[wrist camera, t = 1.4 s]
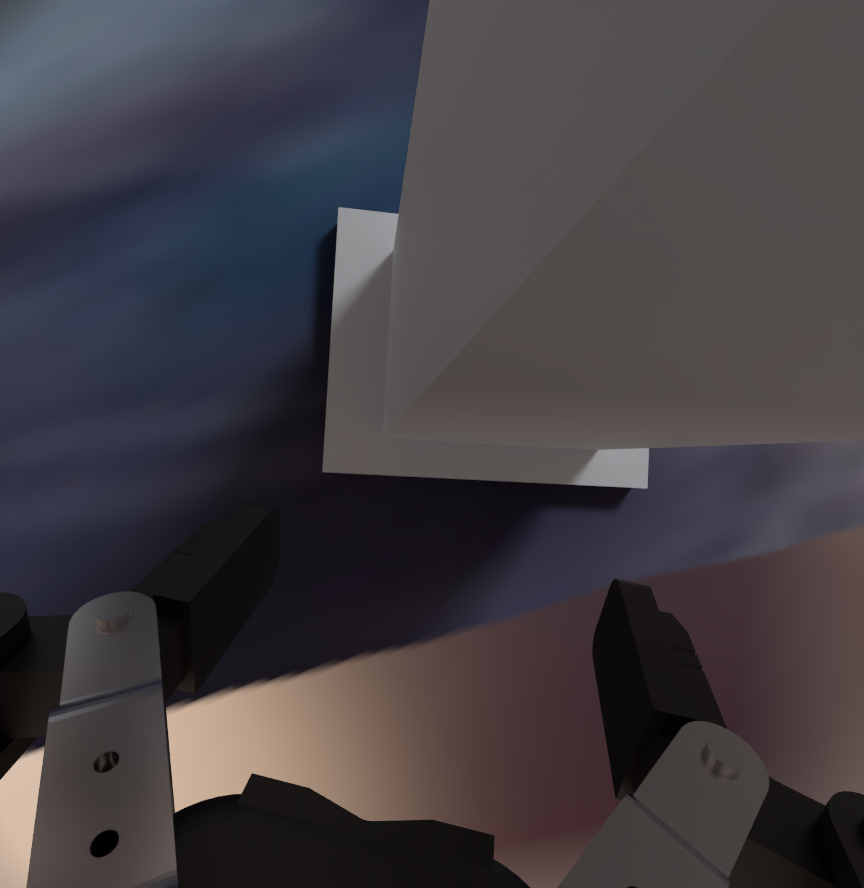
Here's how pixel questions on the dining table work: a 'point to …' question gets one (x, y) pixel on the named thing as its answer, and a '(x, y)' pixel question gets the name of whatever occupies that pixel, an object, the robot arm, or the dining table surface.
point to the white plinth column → (609, 243)
